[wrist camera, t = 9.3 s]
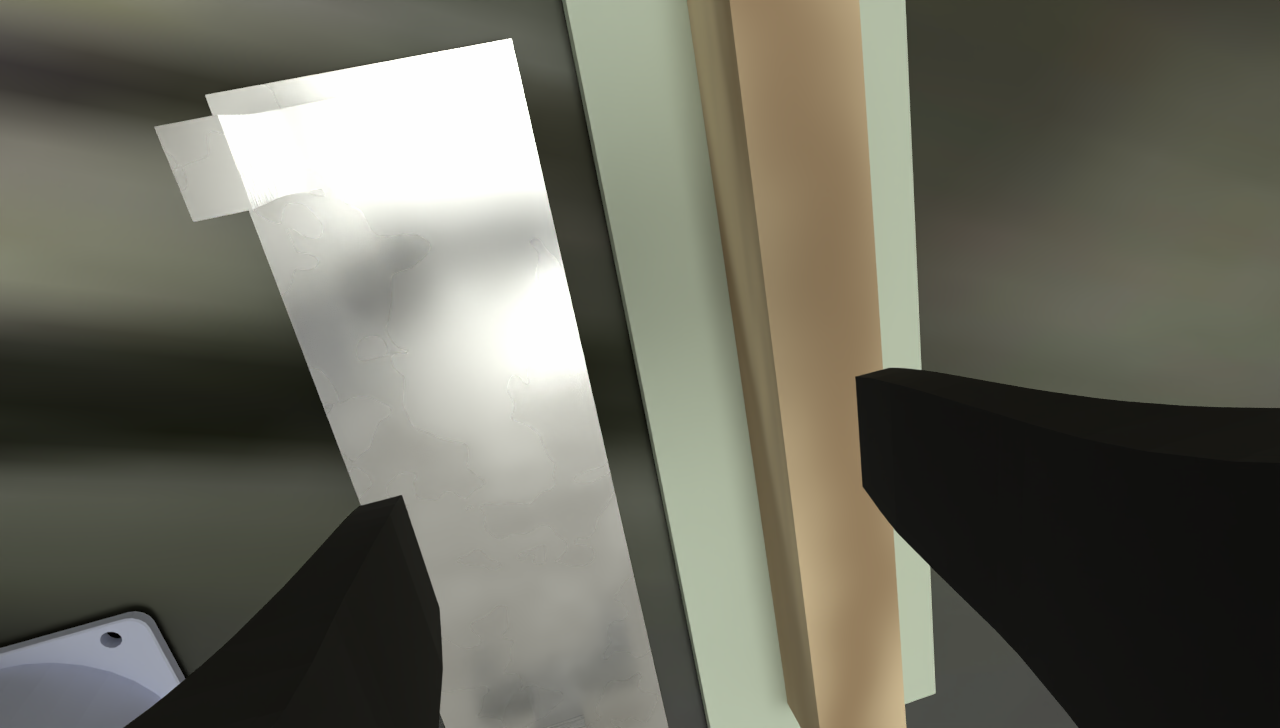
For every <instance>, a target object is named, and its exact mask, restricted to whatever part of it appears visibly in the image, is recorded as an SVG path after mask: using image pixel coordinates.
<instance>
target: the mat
mask: <svg viewBox="0 0 1280 728" xmlns="http://www.w3.org/2000/svg"><path fill="white" fill-rule="evenodd" d="M562 3H563V8H564V13H565V18H566V23H567V28H568V33H569V38H570V43H571V48H572V53H573V58H574V63H575V68H576V73H577V78H578V83H579V88H580V93H581V98H582V103H583V108H584V113H585V118H586V123H587V128H588V133H589V138H590V143H591V148H592V153H593V158H594V163H595V168H596V173H597V178H598V183H599V188H600V193H601V198H602V203H603V207H604V212H605V217H606V222H607V227H608V232H609V237H610V242H611V247H612V252H613V257H614V262H615V267H616V272H617V277H618V282H619V287H620V292H621V297H622V302H623V307H624V312H625V317H626V322H627V327H628V332H629V337H630V342H631V347H632V352H633V357H634V362H635V367H636V372H637V377H638V382H639V387H640V392H641V397H642V402H643V407H644V412H645V417H646V422H647V427H648V432H649V437H650V442H651V447H652V452H653V457H654V462H655V467H656V472H657V477H658V482H659V487H660V492H661V497H662V502H663V507H664V512H665V517H666V521H667V526H668V531H669V536H670V541H671V546H672V551H673V556H674V561H675V566H676V571H677V576H678V581H679V586H680V591H681V596H682V601H683V606H684V611H685V616H686V621H687V626H688V631H689V636H690V641H691V646H692V651H693V656H694V661H695V666H696V671H697V676H698V681H699V686H700V691H701V696H702V701H703V706H704V711H705V716H706V721H707V726H708V728H801V727H800V725H799V723H798V722H797V720H796V718H795V716H794V714H793V713H792V711H791V709H790V707H789V705H788V703H787V696H786V689H785V682H784V675H783V668H782V661H781V654H780V647H779V640H778V633H777V626H776V619H775V612H774V605H773V598H772V592H771V585H770V578H769V571H768V564H767V557H766V550H765V543H764V536H763V529H762V522H761V515H760V508H759V501H758V494H757V487H756V480H755V473H754V466H753V459H752V452H751V445H750V438H749V431H748V424H747V417H746V410H745V403H744V396H743V389H742V382H741V375H740V368H739V361H738V354H737V347H736V340H735V333H734V326H733V320H732V313H731V306H730V299H729V292H728V285H727V278H726V271H725V264H724V257H723V250H722V243H721V236H720V229H719V222H718V215H717V208H716V201H715V194H714V187H713V180H712V173H711V166H710V159H709V152H708V145H707V138H706V131H705V124H704V117H703V110H702V103H701V96H700V89H699V82H698V75H697V68H696V61H695V54H694V47H693V41H692V34H691V27H690V20H689V13H688V6H687V0H562ZM859 5H860V20H861V36H862V51H863V67H864V82H865V98H866V113H867V129H868V144H869V160H870V175H871V191H872V206H873V222H874V237H875V253H876V268H877V284H878V299H879V315H880V330H881V346H882V361H883V369H886V368H908V369H917V370H921V349H920V326H919V304H918V281H917V258H916V235H915V212H914V189H913V167H912V144H911V121H910V98H909V75H908V52H907V29H906V7H905V0H859ZM893 531H894V547H895V562H896V578H897V593H898V609H899V624H900V640H901V655H902V671H903V686H904V702H905V704H907V703H909V702H912V701H915V700H918V699H921V698H924V697H926V696H929V695H932V694H935V693H936V692H935V669H934V646H933V623H932V601H931V578H930V565H929V564H928V563H927V562H926V561H925V560H924V559H923V558H922V557H921V556H920V555H919V554H918V553H917V552H916V551H915V550H914V549H913V548H912V547H911V546H910V545H909V544H908V543H907V542H906V541H905V540H904V539H903V538H902V537H901V536H900V535H899V534H898V533H897V532H896V531H895V530H894V528H893Z"/></svg>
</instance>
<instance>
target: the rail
mask: <svg viewBox="0 0 1280 728" xmlns="http://www.w3.org/2000/svg"><path fill="white" fill-rule="evenodd" d="M687 6H688V13H689V20H690V27H691V34H692V41H693V47H694V54H695V61H696V68H697V75H698V82H699V89H700V96H701V103H702V110H703V117H704V124H705V131H706V138H707V145H708V152H709V159H710V166H711V173H712V180H713V187H714V194H715V201H716V208H717V215H718V222H719V229H720V236H721V243H722V250H723V257H724V264H725V271H726V278H727V285H728V292H729V299H730V306H731V313H732V320H733V326H734V333H735V340H736V347H737V354H738V361H739V368H740V375H741V382H742V389H743V396H744V403H745V410H746V417H747V424H748V431H749V438H750V445H751V452H752V459H753V466H754V473H755V480H756V487H757V494H758V501H759V508H760V515H761V522H762V529H763V536H764V543H765V550H766V557H767V564H768V571H769V578H770V585H771V592H772V598H773V605H774V612H775V619H776V626H777V633H778V640H779V647H780V654H781V661H782V668H783V675H784V682H785V689H786V696H787V703H788V705H789V707H790V709H791V711H792V713H793V714H794V716H795V718H796V720H797V722H798V723H799V725H800V727H801V728H906V717H905V702H904V686H903V671H902V655H901V640H900V624H899V609H898V593H897V578H896V562H895V547H894V531H893V527H892V526H891V524H890V523H889V522H888V521H887V519H886V518H885V517H884V515H883V514H882V513H881V512H880V510H879V509H878V507H877V506H876V505H875V503H874V502H873V501H872V499H871V498H870V496H869V495H868V494H867V492H866V491H865V489H864V488H863V487H862V472H861V457H860V441H859V426H858V411H857V396H856V380H855V377H856V376H860V375H863V374H867V373H871V372H875V371H879V370H883V361H882V346H881V330H880V315H879V299H878V284H877V268H876V253H875V237H874V222H873V206H872V191H871V175H870V160H869V144H868V129H867V113H866V98H865V82H864V67H863V51H862V36H861V20H860V5H859V0H687Z"/></svg>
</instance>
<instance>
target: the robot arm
mask: <svg viewBox="0 0 1280 728" xmlns="http://www.w3.org/2000/svg"><path fill="white" fill-rule="evenodd" d="M855 380H856V396H857V411H858V426H859V441H860V457H861V472H862V487H863V488H864V489H865V491H866V492H867V494H868V495H869V496H870V498H871V499H872V501H873V502H874V503H875V505H876V506H877V507H878V509H879V510H880V512H881V513H882V514H883V515H884V517H885V518H886V519H887V521H888V522H889V523H890V524H891V526H892V527H893V528H894V530H895V531H896V532H897V533H898V534H899V535H900V536H901V537H902V538H903V539H904V540H905V541H906V542H907V543H908V544H909V545H910V546H911V547H912V548H913V549H914V550H915V551H916V552H917V553H918V554H919V555H920V556H921V557H922V558H923V559H924V560H925V561H926V562H927V563H928V564H929V565H930V566H931V567H932V568H933V569H934V570H935V571H936V572H937V573H938V574H939V575H940V576H941V577H942V578H943V579H944V580H945V581H946V582H947V583H948V584H949V585H950V586H951V587H952V588H953V589H954V590H955V591H956V592H957V593H958V594H959V595H960V596H961V597H962V598H963V599H964V600H965V601H966V602H967V603H968V604H969V605H970V606H971V607H972V608H973V609H974V610H976V611H977V612H978V613H979V614H980V615H981V616H982V617H983V618H984V619H985V620H986V621H987V622H988V623H989V624H990V625H991V626H992V627H993V628H994V629H995V630H996V631H997V632H998V633H999V634H1000V635H1001V636H1002V637H1003V638H1004V640H1005V641H1006V642H1007V643H1008V644H1009V645H1010V646H1011V647H1012V648H1013V649H1014V650H1015V651H1016V652H1017V653H1018V654H1019V656H1020V657H1021V658H1022V659H1023V660H1024V662H1025V663H1026V664H1027V665H1028V666H1029V668H1030V669H1031V670H1032V671H1033V672H1034V674H1035V675H1036V676H1037V677H1038V678H1039V680H1040V681H1041V682H1042V683H1043V684H1044V686H1045V687H1046V688H1047V689H1048V690H1049V692H1050V693H1051V694H1052V695H1053V696H1054V698H1055V699H1056V700H1057V701H1058V702H1059V704H1060V705H1061V706H1062V707H1063V708H1064V710H1065V711H1066V712H1067V713H1068V715H1069V716H1070V717H1071V719H1072V720H1073V721H1074V722H1075V724H1076V725H1077V726H1078V728H1280V408H1231V407H1199V406H1179V405H1166V404H1153V403H1140V402H1127V401H1117V400H1108V399H1099V398H1091V397H1084V396H1077V395H1069V394H1062V393H1055V392H1048V391H1042V390H1036V389H1029V388H1023V387H1018V386H1012V385H1006V384H1000V383H995V382H989V381H983V380H978V379H972V378H967V377H961V376H955V375H950V374H944V373H938V372H931V371H925V370H917V369H908V368H886V369H883V370H879V371H875V372H871V373H867V374H863V375H860V376H856V377H855ZM107 632H115V633H118V634H119V635H120V636H121V637H122V638H114V637H111V636H110V635H109V634H107ZM442 676H443V657H442V637H441V621H440V608H439V605H438V602H437V599H436V596H435V593H434V590H433V587H432V584H431V581H430V578H429V575H428V571H427V568H426V565H425V562H424V559H423V556H422V553H421V550H420V547H419V544H418V541H417V538H416V535H415V532H414V529H413V526H412V523H411V520H410V517H409V514H408V511H407V508H406V505H405V502H404V499H403V496H402V495H399V496H396V497H392V498H388V499H384V500H380V501H376V502H373V503H369V504H365V505H361V506H359V507H358V508H356V509H355V510H354V511H353V512H352V513H351V514H350V515H349V516H348V517H347V518H346V519H345V520H344V521H343V522H342V523H341V524H340V526H339V527H338V528H337V529H336V530H335V531H334V532H333V533H332V534H331V535H330V537H329V538H328V539H327V540H326V541H325V542H324V543H323V544H322V545H321V547H320V548H319V549H318V550H317V551H316V552H315V553H314V554H313V555H312V556H311V558H310V559H309V560H308V561H307V562H306V563H305V564H304V565H303V566H302V567H301V568H300V570H299V571H298V572H297V573H296V574H295V575H294V576H293V577H292V578H291V579H290V580H289V582H288V583H287V584H286V585H285V586H284V587H283V588H282V589H281V590H280V591H279V592H278V593H277V594H276V595H275V596H274V597H273V598H272V599H271V600H270V601H269V602H268V603H267V604H266V605H265V606H264V607H263V608H262V609H261V610H260V611H259V612H258V613H257V614H256V615H255V616H254V617H253V618H252V619H251V620H250V621H249V622H248V623H247V624H246V625H245V626H244V627H243V628H242V629H241V630H240V631H239V632H238V633H237V634H236V635H235V636H234V637H232V638H231V639H230V640H229V641H228V642H227V643H226V644H225V645H224V646H223V647H222V648H221V649H219V650H218V651H217V652H216V653H215V654H214V655H213V656H212V657H210V658H209V659H208V660H207V661H206V662H205V663H204V664H203V665H201V666H200V667H199V668H198V669H197V670H195V671H194V672H193V673H192V674H191V675H189V676H188V677H187V678H186V679H185V677H184V675H183V673H182V671H181V669H180V668H179V666H178V664H177V662H176V660H175V658H174V657H173V655H172V653H171V651H170V649H169V647H168V645H167V644H166V642H165V640H164V638H163V636H162V634H161V632H160V631H159V629H158V627H157V625H156V623H155V621H154V620H153V619H152V618H151V617H150V616H149V615H147V614H145V613H143V612H137V611H133V612H127V613H123V614H120V615H116V616H113V617H109V618H105V619H102V620H98V621H95V622H91V623H88V624H84V625H81V626H77V627H73V628H70V629H66V630H63V631H59V632H56V633H52V634H49V635H45V636H41V637H38V638H34V639H31V640H27V641H24V642H20V643H17V644H13V645H9V646H6V647H2V648H0V728H438V727H439V715H440V702H441V690H442Z"/></svg>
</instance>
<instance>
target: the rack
mask: <svg viewBox="0 0 1280 728" xmlns="http://www.w3.org/2000/svg"><path fill="white" fill-rule="evenodd" d="M205 97H206V99H207V102H208V105H209V107H210V110H211V112H212V115H213V116H209V117H203V118H198V119H193V120H187V121H182V122H177V123H172V124H166V125H161V126H156V127H154V128H155V130H156V133H157V135H158V137H159V140H160V142H161V145H162V147H163V150H164V152H165V154H166V157H167V159H168V162H169V164H170V167H171V169H172V172H173V174H174V176H175V179H176V181H177V184H178V186H179V189H180V191H181V193H182V196H183V198H184V201H185V203H186V206H187V208H188V210H189V213H190V215H191V218H192V220H193V222H196V221H201V220H205V219H210V218H215V217H220V216H225V215H229V214H234V213H239V212H244V211H249V212H250V215H251V218H252V220H253V223H254V225H255V228H256V231H257V233H258V236H259V239H260V241H261V244H262V247H263V249H264V252H265V254H266V257H267V260H268V262H269V265H270V268H271V270H272V273H273V275H274V278H275V281H276V283H277V286H278V289H279V291H280V294H281V296H282V299H283V302H284V304H285V307H286V310H287V312H288V315H289V318H290V320H291V323H292V325H293V328H294V331H295V333H296V336H297V339H298V341H299V344H300V346H301V349H302V352H303V354H304V357H305V360H306V362H307V365H308V367H309V370H310V373H311V375H312V378H313V381H314V383H315V386H316V389H317V391H318V394H319V396H320V399H321V402H322V404H323V407H324V410H325V412H326V415H327V417H328V420H329V423H330V425H331V428H332V431H333V433H334V436H335V438H336V441H337V444H338V446H339V449H340V452H341V454H342V457H343V460H344V462H345V465H346V467H347V470H348V473H349V475H350V478H351V481H352V483H353V486H354V488H355V491H356V494H357V496H358V499H359V502H360V504H361V505H365V504H369V503H373V502H376V501H380V500H384V499H388V498H392V497H396V496H399V495H402V496H403V499H404V502H405V505H406V508H407V511H408V514H409V517H410V520H411V523H412V526H413V529H414V532H415V535H416V538H417V541H418V544H419V547H420V550H421V553H422V556H423V559H424V562H425V565H426V568H427V571H428V575H429V578H430V581H431V584H432V587H433V590H434V593H435V596H436V599H437V602H438V605H439V608H440V621H441V637H442V657H443V676H442V690H441V702H440V715H441V717H442V720H443V723H444V725H445V728H668V724H667V719H666V715H665V711H664V706H663V702H662V697H661V693H660V689H659V684H658V680H657V675H656V671H655V667H654V662H653V658H652V654H651V649H650V645H649V640H648V636H647V632H646V627H645V623H644V618H643V614H642V610H641V605H640V601H639V596H638V592H637V588H636V583H635V579H634V574H633V570H632V566H631V561H630V557H629V553H628V548H627V544H626V539H625V535H624V531H623V526H622V522H621V517H620V513H619V509H618V504H617V500H616V495H615V491H614V487H613V482H612V478H611V473H610V469H609V465H608V460H607V456H606V451H605V447H604V443H603V438H602V434H601V430H600V425H599V421H598V416H597V412H596V408H595V403H594V399H593V394H592V390H591V386H590V381H589V377H588V372H587V368H586V364H585V359H584V355H583V350H582V346H581V342H580V337H579V333H578V329H577V324H576V320H575V315H574V311H573V307H572V302H571V298H570V293H569V289H568V285H567V280H566V276H565V271H564V267H563V263H562V258H561V254H560V249H559V245H558V241H557V236H556V232H555V227H554V223H553V219H552V214H551V210H550V206H549V201H548V197H547V192H546V188H545V184H544V179H543V175H542V170H541V166H540V162H539V157H538V153H537V148H536V144H535V140H534V135H533V131H532V126H531V122H530V118H529V113H528V109H527V104H526V100H525V96H524V91H523V87H522V83H521V78H520V74H519V69H518V65H517V61H516V56H515V52H514V47H513V43H512V39H506V40H500V41H495V42H489V43H484V44H478V45H473V46H468V47H462V48H457V49H451V50H446V51H441V52H435V53H430V54H424V55H419V56H413V57H408V58H403V59H397V60H392V61H386V62H381V63H375V64H370V65H365V66H359V67H354V68H348V69H343V70H337V71H332V72H327V73H321V74H316V75H310V76H305V77H300V78H294V79H289V80H283V81H278V82H272V83H267V84H262V85H256V86H251V87H245V88H240V89H234V90H229V91H224V92H218V93H213V94H207V95H205Z"/></svg>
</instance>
